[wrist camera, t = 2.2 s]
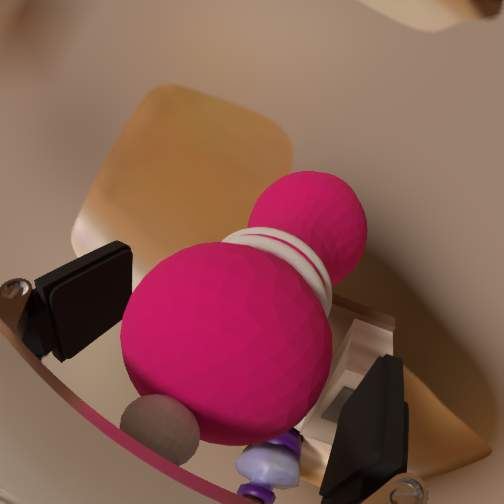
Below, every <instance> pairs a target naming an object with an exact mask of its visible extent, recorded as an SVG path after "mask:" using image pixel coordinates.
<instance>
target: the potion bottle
mask: <svg viewBox="0 0 504 504" xmlns="http://www.w3.org/2000/svg"><path fill="white" fill-rule="evenodd" d="M302 442H303V436H302V435H301V434H300V432H299V431H298V430H296V429H294V428H292V429H290V430H289V431H287V432H286V433H284V434H282V435H280V436H278V437H276V438H274V439H272V440H269V441H265V442H262V443H259V444H252V445H248V446H246V448H245V449H244V451H243V453H242V454H241V455H240V456H239V457H238V458H237V459H236V460H235V461H234V462H233V464H234V465H235V467H236V469H237V471H238V473H239V474H240V475H242V476H244V477H246V478H247V479H249V480H250V482H249V483H247V484H243V485H240V487H239V489H238V491H237V494H238V495H240V496H242V497H245V498H247V499H250V500H252V501H255V502H257V503H260V504H273V503H274V500H275V498H276V497H275V494H274V492H272V490H273V488H276V489H282V490H285V489H289V488H294V487H298V486H299V482H300V473H301V464H300V457H301V446H302Z"/></svg>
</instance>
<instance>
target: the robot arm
mask: <svg viewBox="0 0 504 504" xmlns="http://www.w3.org/2000/svg"><path fill="white" fill-rule="evenodd" d="M132 261H133V253H132V252H131V248H130V246H128V245H126V244H124V243H122V242H120V241H113V242H111V243H109V244H107V245H105V246H103V247H100V248H98V249H96V250H94V251H92V252H90V253H88V254H86V255H83V256H81V257H79V258H77V259H75V260H73V261H71V262H69V263H67V264H65V265H63V266H61V267H59V268H57V269H55V270H53V271H51V272H49V273H47V274H45V275H43V276H41V277H39V278H38V279H36V280H34V281H35V286H36V288H35V289H32V285H31V283H30V282H29V281H28V280H26V279H22V278H15V279H11V280H9V281H7V282H5V283H4V284H2V286H1V287H0V504H260V503H257V502H255V501H252V500H250V499H247V498H245V497H242V496H240V495H237V494H235V493H232V492H230V491H228V490H226V489H223V488H221V487H219V486H216V485H214V484H212V483H210V482H208V481H206V480H204V479H202V478H200V477H198V476H196V475H194V474H192V473H190V472H188V471H186V470H184V469H183V468H181V467H179V466H177V465H175V464H174V463H172V462H170V461H168V460H167V459H165V458H163V457H162V456H160V455H158V454H157V453H155V452H153V451H152V450H150V449H148V448H147V447H145V446H144V445H142V444H141V443H139V442H138V441H136V440H135V439H133V438H132V437H130V436H129V435H127V434H126V433H124V432H123V431H122V430H120V429H118V428H117V427H116V426H115V425H113V424H112V423H110V422H109V421H108V420H107V419H105V418H104V417H102V416H101V415H100V414H99V413H97V412H96V411H95V410H94V409H92V408H91V407H90V406H89V405H88V404H86V403H85V402H84V401H83V400H82V399H80V398H79V397H78V396H77V395H76V394H74V393H73V392H72V391H71V390H70V389H69V388H68V387H67V386H66V385H64V384H63V383H62V382H61V381H60V380H59V379H58V378H57V377H56V376H55V375H54V374H53V373H52V372H51V371H50V370H49V369H47V367H46V364H47V359H48V355H49V353H50V352H51V351H52V353H53V355H54V356H55V357H56V358H57V359H58V360H59V361H60V362H61V363H62V362H63V361H65V360H66V359H70V358H72V357H74V356H75V355H76V354H77V353H79V352H80V351H81V350H83V349H84V348H85V347H87V346H88V345H89V344H90V343H92V342H93V341H94V340H96V339H97V338H98V337H100V336H101V335H102V334H104V333H105V332H106V331H108V330H109V329H110V328H112V327H113V326H114V325H115V324H117V323H118V322H119V321H121V320H122V319H123V314H124V312H125V309H126V306H127V304H128V302H129V299H130V297H131V294H132ZM408 432H409V408H408V404H407V402H404V380H403V362H402V359H401V358H398V357H395V356H392V355H389V354H385V355H384V356H383V357H381V356H379V357H378V358H377V359H376V360H375V362H374V363H373V365H372V366H371V368H370V369H369V371H368V372H367V374H366V375H365V377H364V378H363V379H362V381H361V382H360V384H359V385H358V386H357V388H356V389H355V391H354V392H353V393H352V395H351V396H350V397H349V399H348V400H347V401H346V402H345V404H344V405H343V407H342V409H341V412H340V415H339V420H338V424H337V429H336V433H335V437H334V441H333V445H332V449H331V453H330V456H329V460H328V464H327V467H326V471H325V474H324V478H323V481H322V484H321V488H320V491H319V495H321V496H323V498H322V501H321V504H427V500H428V490H427V487H426V485H425V483H424V482H423V480H422V479H421V478H419V477H418V476H417V475H414V474H412V473H407V459H408Z"/></svg>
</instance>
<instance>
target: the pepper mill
mask: <svg viewBox="0 0 504 504" xmlns="http://www.w3.org/2000/svg"><path fill="white" fill-rule="evenodd" d="M366 240H367V220H366V217H365V213H364V210H363V208H362V205H361V203H360V201H359V200H358V198H357V196H356V194H355V193H354V191H353V190H352V188H351V187H350V186H349V185H348V184H347V183H346V182H344V181H343V180H341V179H340V178H338V177H336V176H334V175H331V174H328V173H320V172H314V171H301V172H295V173H292V174H289V175H286V176H284V177H282V178H280V179H278V180H277V181H276V182H274V183H273V184H272V185H271V186H269V187H268V188H267V189H266V190H265V191H264V192H263V193H262V194H261V196H260V197H259V199H258V200H257V202H256V204H255V206H254V208H253V211H252V213H251V215H250V219H249V223H248V228H247V229H242V230H239V231H237V232H235V233H232V234H231V235H229V236H228V237H226V238H225V239H223V240H222V241H221V242H214V243H203V244H198V245H195V246H192V247H189V248H186V249H183V250H180V251H179V252H177V253H175V254H173V255H172V256H170V257H168V258H166V259H165V260H163V261H161V262H160V263H159V264H158V265H157V266H156V267H154V268H153V269H152V270H151V271H150V272H149V273H148V274H147V275H146V276H145V277H144V278H143V279H142V281H141V282H140V283H139V285H138V286H137V287H136V289H135V290H134V292H133V293H132V294H131V297H130V299H129V302H128V304H127V306H126V309H125V312H124V314H123V319H122V326H121V333H120V340H121V347H122V354H123V359H124V364H125V367H126V370H127V372H128V375H129V377H130V380H131V381H132V383H133V385H134V387H135V388H136V390H137V391H138V393H139V395H140V396H141V397H139V398H137V399H136V400H134V401H133V402H132V403H131V404H129V405H128V407H127V408H126V410H125V411H124V413H123V415H122V417H121V423H120V430H122V431H123V432H124V433H126V434H127V435H129V436H130V437H132V438H133V439H135V440H136V441H138V442H139V443H141V444H142V445H144V446H145V447H147V448H148V449H150V450H152V451H153V452H155V453H157V454H158V455H160V456H162V457H163V458H165V459H167V460H168V461H170V462H172V463H174V464H175V465H177V466H180V465H182V464H184V463H186V462H187V461H188V460H189V459H190V458H191V457H192V456H193V455H194V454H195V452H196V450H197V448H198V446H199V440H203V441H206V442H209V443H215V444H221V445H228V446H244V445H252V444H259V443H262V442H265V441H269V440H272V439H274V438H276V437H278V436H280V435H282V434H284V433H286V432H287V431H289V430H290V429H292V428H293V427H294V426H296V425H297V424H298V423H300V421H301V420H302V419H303V418H304V417H305V416H306V415H307V414H308V412H309V411H310V410H311V409H312V408H313V407H314V405H315V404H316V403H317V401H318V399H319V396H320V394H321V392H322V390H323V388H324V386H325V384H326V381H327V379H328V376H329V373H330V367H331V361H332V355H333V343H332V331H331V328H330V325H329V322H328V316H329V313H330V310H331V306H332V287H331V286H333V285H335V284H337V283H338V282H340V281H341V280H342V279H344V278H345V277H346V276H347V275H348V274H349V273H350V272H351V271H352V270H353V269H354V268H355V267H356V265H357V263H358V262H359V260H360V259H361V256H362V253H363V250H364V247H365V244H366Z"/></svg>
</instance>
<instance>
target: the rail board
mask: <svg viewBox="0 0 504 504" xmlns="http://www.w3.org/2000/svg"><path fill="white" fill-rule="evenodd" d="M328 322H329V325H330V328H331V331H332V343H333V355H332V361H331V367H330V373H329V376H328V379H327V381H326V384H325V386H324V388H323V390H322V392H321V394H320V396H319V399H318V401H317V403H316V404H315V405H314V407H313V408H312V409H311V410H310V411H309V412H308V414H307V415H306V418H305V420H304V423H303V426H302V429H301V432H300V434H301V435H304V436H306V437H309V438H312V439H315V440H318V441H321V442H324V443H327V444H330V445H333V441H334V437H335V433H336V429H337V424H338V420H339V415H340V412H341V409H342V407H343V405H344V404H345V402H346V401H347V400H348V399H349V397H350V396H351V395H352V393H353V392H354V391H355V389H356V388H357V386H358V385H359V384H360V382H361V381H362V379H363V378H364V377H365V375H366V374H367V372H368V371H369V369H370V368H371V366H372V365H373V363H374V362H375V360H376V359H377V358H378V357H379V356H381V357H383V356H384V355H385V354H389V355H392V356H393V331H394V329H395V318H394V317H392V316H389V315H386V314H384V313H381V312H379V311H376V310H373V309H371V308H368V307H366V306H363V305H361V304H358V303H355V302H353V301H350V300H348V299H345V298H343V297H340V296H337V295H335V294H332V306H331V310H330V313H329V316H328Z"/></svg>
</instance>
